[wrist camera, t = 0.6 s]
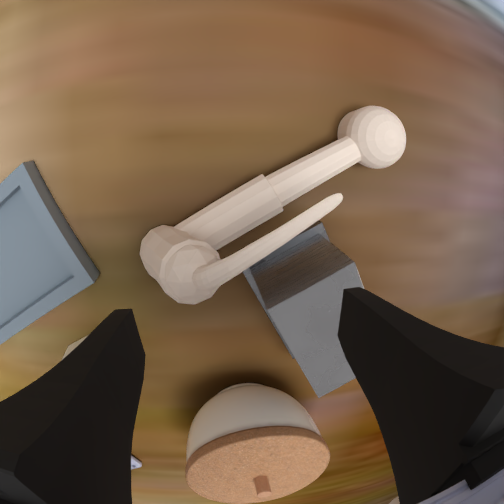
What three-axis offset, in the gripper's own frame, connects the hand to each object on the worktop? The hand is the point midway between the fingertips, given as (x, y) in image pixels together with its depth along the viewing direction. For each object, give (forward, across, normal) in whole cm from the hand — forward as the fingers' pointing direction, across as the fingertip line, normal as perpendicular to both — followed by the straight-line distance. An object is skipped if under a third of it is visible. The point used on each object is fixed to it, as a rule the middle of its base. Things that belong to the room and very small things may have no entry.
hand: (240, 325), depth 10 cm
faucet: (+11, -3, -2) cm, 12 cm away
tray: (+10, +17, +1) cm, 20 cm away
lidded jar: (+10, 0, +16) cm, 19 cm away
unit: (+10, -5, +6) cm, 13 cm away
